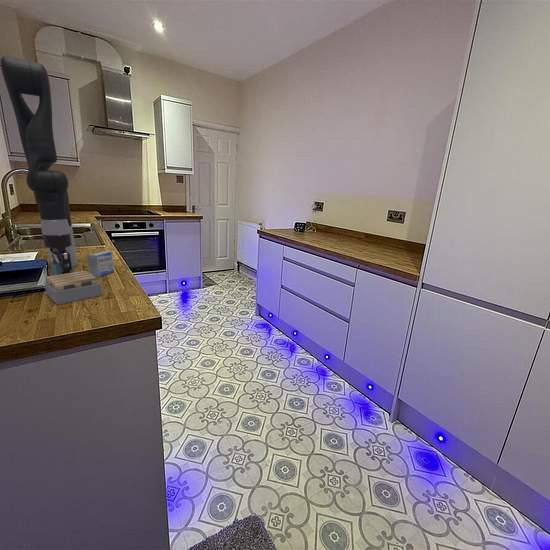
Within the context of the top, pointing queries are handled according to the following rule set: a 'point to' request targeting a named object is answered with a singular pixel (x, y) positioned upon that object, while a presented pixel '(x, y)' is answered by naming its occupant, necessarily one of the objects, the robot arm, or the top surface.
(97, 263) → the medicine box
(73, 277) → the pallet
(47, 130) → the robot arm
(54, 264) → the teal upright block
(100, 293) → the platform
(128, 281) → the top surface
